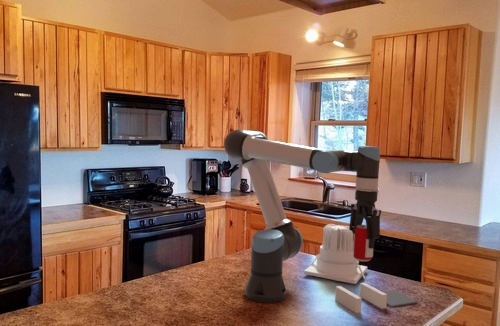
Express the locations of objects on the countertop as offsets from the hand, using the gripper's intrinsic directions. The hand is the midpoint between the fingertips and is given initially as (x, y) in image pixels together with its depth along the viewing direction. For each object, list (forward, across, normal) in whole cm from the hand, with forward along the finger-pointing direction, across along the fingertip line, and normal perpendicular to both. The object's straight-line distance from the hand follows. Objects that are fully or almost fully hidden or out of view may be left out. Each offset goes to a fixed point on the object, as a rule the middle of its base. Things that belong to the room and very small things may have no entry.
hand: (362, 254), depth 146 cm
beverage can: (+2, 0, 0) cm, 2 cm away
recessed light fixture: (+19, +30, -11) cm, 37 cm away
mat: (+18, 0, -15) cm, 24 cm away
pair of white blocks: (+18, 0, 0) cm, 18 cm away
